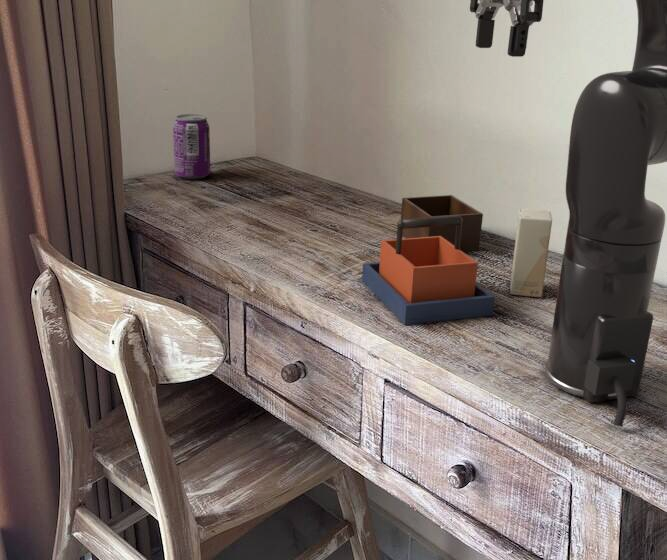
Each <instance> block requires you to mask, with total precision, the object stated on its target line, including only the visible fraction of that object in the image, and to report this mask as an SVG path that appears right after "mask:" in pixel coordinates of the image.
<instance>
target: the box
mask: <svg viewBox="0 0 667 560" xmlns="http://www.w3.org/2000/svg"><path fill="white" fill-rule="evenodd" d="M552 225H553V217H552V212H551V211H548V210H540V209H533V208H531V209H530V208H520V209H518V217H517V225H516V233H515V241H514V242H515V243H514V249H513V258H512V267H511V274H510V283H509V286H510V287H509V288H510V290H509V291H510V295H514V296H523V297H533V298H542V297H543V291H544V283H545V276H546V269H547V261H548V254H549V248H550V247H549V246H550V240H551V232H552Z"/></svg>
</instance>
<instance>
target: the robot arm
mask: <svg viewBox="0 0 667 560" xmlns="http://www.w3.org/2000/svg"><path fill="white" fill-rule="evenodd" d="M544 1H545V0H470V3H469V11H470V13H474V14H475V18H476V19H477V28H476V37H475V47H476V48H480V49H490V48H492V46H493V42H494V41H493V40H494V31H495V23H496V19H495V18H496V16H497V14H498V11H499V10H500V8H502V7H504V9H505V10H506V11H507V12H508V13H509V17H510V21H511V25H510V27H509V38H508V45H507V56H509V57H512V58H513V57H516V58H518V57H519V58H521V57H524V56H525V55H526V50H527V45H528V37H529V29H530V27H531V26H533V24H534V23H541V21H542V19H543V10H544ZM533 2H534V3H533ZM533 4H534V8H533V10H532V6H533ZM635 4H636V5H635V6H636V10H637V34H636V44H635V52H634V59H633V64H632V68H631V70H621V71H613V72H612V71H611V72H607V73H604V74H603V73H602V74H601V75H598V76H597V77H595V78H593V79H592V80H590V81H589V82H588V84H587V85H586V86H585V87H584V88H583V90H582V91H581V93H580V95H579V97H578V100H577V101H576V104H575V107H574V110H573V114H572V120H571V124H570V134H569V145H568V155H567V166H566V177H565V198H566V203H567V208H568V213H569V214H568V223H567V228H566V236H565V241H564V248H563V255H562V260H561V261H562V263H561V269H560V275H559V281H558V288H557V295H556V301H555V309H554V316H553V322H552V327H551V328H552V329H551V334H550V341H549V342H550V343H549V350H548V358H547V361H546V364H545V368H544V369H545V370H544V374H545V377H546V378H547V380H548V381H549V382H550V383H551V384H552V386H554V387H556V388H557V389H559V390H561V391H563V392H565V393H568V394H570V395H572V396H573V395H574V396H576V397H579V398H582V399H584V400H585V401H587V402H588V403H599V402H604V401H611V400H617V410H616V414H615V418H614V422H613V425H614V426H617V427H623V424H624V421H625V418H626V414H627V398H630V397H631V398H632V397H636V396H639V392H640V387H641V381H642V377H643V373H644V366H645V361H646V356H647V351H648V347H649V342H650V336H651V331H652V326H653V323H654V314H653V313H652V312H650V311H649V310H648V309H649V306H650V300H651V294H652V289H653V284H654V278H655V273H656V269H657V264H658V258H659V255H660V250H661V245H662V244H661V243H662V239H663V234H664V230H665V224H666V213H665V211H664V209H663V208H662V207H661V206H660V205H659V204H657V203H656V202H654V201H652V200H650V199H646V182H647V175H648V173H647V172H648V168H649V167H648V166H653V165H659V164H664V163H667V0H635Z"/></svg>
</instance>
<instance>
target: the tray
mask: <svg viewBox="0 0 667 560" xmlns="http://www.w3.org/2000/svg"><path fill="white" fill-rule="evenodd" d="M379 268H380V261H375V262H364V263H363V262H362V271H361V274H362V275H361V281H362V282H363V283H364V284H365V285H366V286H367V287H368V289H370V290H371V292H372V293H373V294H374V295H375V296H376V297H377V298H378V299H379V300H380V301H381V302H382V303H383V304H384V305H385V306H386V307H387V308H388V309H389V311H391V313H392V314H394V316H396V318H397V319H398V320H399V321H400V322H401V323H402V324H403V325H404V326H407V325H415V324H416V325H417V324H424V323H435V322H443V321H453V320H462V319H470V318H480V317H489V316H493V315H494V308H495V300H496V296H495V295H493V294H492V293H491V292H489V291H488V290H487V289H486V288H484V287H483V286H481V285H480V284H479V283H478V282H476V284H475V293H474V297H468V298H458V299H448V300H438V301H429V302H419V303H408V302H407V301H406V300H405V299H404V298H403V297H402V296H401V295H400V294H399V293H398V292H397V291H396V290H395V289H393V288H392V287H391V286H390V285H389V284H388V283H387V282H386V281H385V280H384V279H383V278H382V277H381V276H380V275H379Z"/></svg>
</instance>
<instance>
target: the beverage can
mask: <svg viewBox="0 0 667 560" xmlns="http://www.w3.org/2000/svg"><path fill="white" fill-rule="evenodd" d="M174 119H175V120H174V123H173V125H172V136H173V137H172V138H173V163H174V174H175V175H176V176H178V177H180V178H181V179H184V180H201V179H204V178H205V177H207V176H209V175H210V174H211V141H210V135H211V133H210V132H211V131H210V124H209V122H208V120H207V119H208V117H207V115H203V114H198V113H197V114H196V113H184V114H178V115H175V117H174Z"/></svg>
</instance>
